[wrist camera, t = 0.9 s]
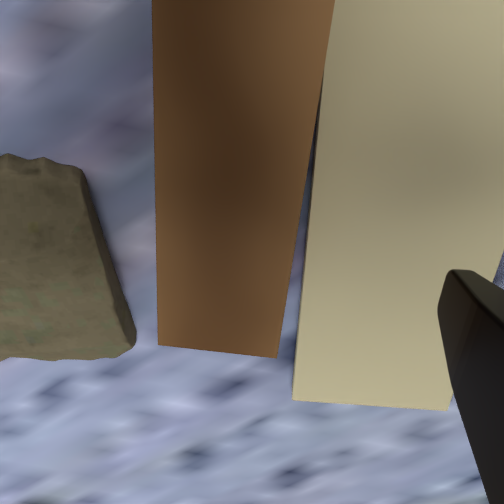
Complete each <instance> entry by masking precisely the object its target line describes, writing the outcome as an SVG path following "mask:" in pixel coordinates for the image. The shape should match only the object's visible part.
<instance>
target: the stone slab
mask: <svg viewBox="0 0 504 504" xmlns="http://www.w3.org/2000/svg"><path fill="white" fill-rule="evenodd" d="M135 343H136V328H135V325H134V322H133V319H132V316H131V313H130V309H129V307H128V304H127V302H126V300H125V297H124V294H123V292H122V289H121V286H120V283H119V281H118V278H117V275H116V272H115V269H114V267H113V264H112V261H111V257H110V254H109V250H108V247H107V244H106V241H105V239H104V236H103V233H102V229H101V226H100V223H99V220H98V217H97V214H96V211H95V208H94V206H93V203H92V199H91V196H90V193H89V189H88V185H87V181H86V178H85V176H84V174H83V171H82V170H81V169H79V168H77V167H75V166H70V165H63V164H59V163H56V162H54V161H51V160H49V159H47V158H45V157H42V158H37V159H33V160H27V159H23V158H20V157H17V156H15V155H11V154H4V155H2V156H0V361H2V360H5V359H7V358H9V357H20V358H32V359H39V360H47V361H57V360H62V359H79V360H95V359H99V358H105V357H107V358H116V357H118V356H120V355H121V354H123V353H125V352H126V351H128V350H130V349H132V348H133V346H134V345H135Z"/></svg>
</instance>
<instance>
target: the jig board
mask: <svg viewBox="0 0 504 504" xmlns="http://www.w3.org/2000/svg"><path fill="white" fill-rule="evenodd" d="M503 251H504V0H335V4H334V10H333V16H332V23H331V29H330V35H329V41H328V47H327V53H326V59H325V66H324V72H323V78H322V84H321V90H320V97H319V108H318V118H317V129H316V139H315V150H314V160H313V171H312V181H311V192H310V202H309V213H308V223H307V234H306V244H305V255H304V265H303V276H302V286H301V297H300V307H299V318H298V328H297V339H296V349H295V360H294V370H293V381H292V400H296V401H311V402H325V403H340V404H354V405H369V406H383V407H398V408H413V409H427V410H442V411H447V410H448V407H449V404H450V401H451V398H452V395H453V390H452V386H451V382H450V378H449V373H448V368H447V363H446V358H445V352H444V347H443V342H442V337H441V332H440V326H439V321H438V316H437V307H438V302H439V298H440V295H441V291H442V288H443V284H444V281H445V277H446V275H447V273H448V271H450V270H451V269H463V270H472V271H474V272H476V273H478V274H479V275H481V276H482V277H484V278H486V279H487V280H489V281H490V282H493V279H494V276H495V274H496V271H497V268H498V265H499V262H500V259H501V256H502V254H503Z"/></svg>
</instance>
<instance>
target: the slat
mask: <svg viewBox="0 0 504 504" xmlns="http://www.w3.org/2000/svg"><path fill="white" fill-rule="evenodd" d="M334 4H335V0H152V42H153V98H154V153H155V208H156V264H157V319H158V345H163V346H172V347H181V348H190V349H198V350H207V351H216V352H225V353H234V354H242V355H251V356H260V357H269V358H277V354H278V348H279V342H280V336H281V330H282V323H283V317H284V311H285V305H286V299H287V293H288V287H289V280H290V274H291V268H292V262H293V256H294V250H295V244H296V237H297V231H298V225H299V219H300V213H301V207H302V201H303V194H304V188H305V182H306V176H307V170H308V164H309V158H310V151H311V145H312V139H313V133H314V127H315V121H316V115H317V109H318V102H319V96H320V90H321V84H322V78H323V72H324V66H325V59H326V53H327V47H328V41H329V35H330V29H331V23H332V16H333V10H334Z"/></svg>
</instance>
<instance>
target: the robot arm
mask: <svg viewBox="0 0 504 504" xmlns="http://www.w3.org/2000/svg"><path fill="white" fill-rule="evenodd" d="M437 316H438V321H439V326H440V332H441V337H442V342H443V347H444V352H445V358H446V363H447V368H448V373H449V378H450V382H451V386H452V390H453V393H454V396H455V399H456V402H457V406H458V409H459V412H460V415H461V418H462V421H463V424H464V427H465V430H466V433H467V436H468V439H469V442H470V446H471V449H472V452H473V455H474V458H475V461H476V464H477V467H478V470H479V473H480V476H481V479H482V482H483V486H484V489H485V492H486V495H487V498H488V501H489V504H504V290H503V289H502V288H500V287H498V286H497V285H495V284H494V283H492V282H490V281H489V280H487V279H486V278H484V277H482V276H481V275H479V274H478V273H476V272H474V271H472V270H463V269H451V270H450V271H448V273H447V275H446V277H445V281H444V284H443V288H442V291H441V295H440V298H439V302H438V307H437Z"/></svg>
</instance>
